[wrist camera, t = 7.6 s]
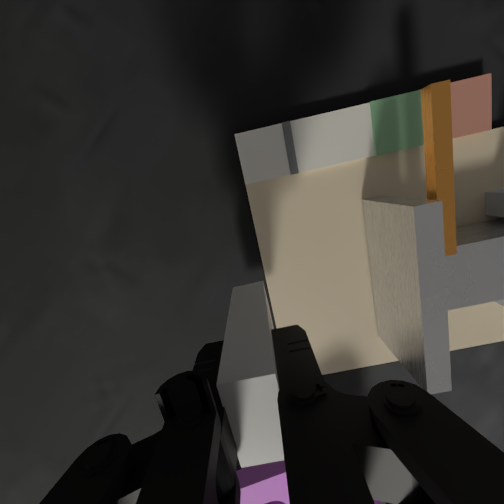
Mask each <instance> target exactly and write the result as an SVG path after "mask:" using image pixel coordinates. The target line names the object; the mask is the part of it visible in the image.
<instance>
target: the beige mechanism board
mask: <svg viewBox="0 0 504 504" xmlns="http://www.w3.org/2000/svg"><path fill="white" fill-rule="evenodd" d="M450 86H451V112H452V138H453V165H454V191H455V217H456V228H458V227H463V226H468V225H472V224H477V223H482V222H487V221H491V220H496V219H501V218H504V127H500V128H495V129H492V88H491V73H490V74H485V75H481V76H477V77H473V78H468V79H464V80H460V81H455V82H451V83H450ZM234 135H235V140H236V144H237V149H238V153H239V158H240V163H241V167H242V172H243V176H244V181H245V185H246V190H247V194H248V199H249V203H250V208H251V213H252V217H253V222H254V226H255V231H256V236H257V240H258V245H259V249H260V254H261V259H262V263H263V268H264V272H265V277H266V282H267V286H268V291H269V295H270V300H271V304H272V309H273V314H274V318H275V323H276V327H277V328H282V327H287V326H292V325H299V326H300V327H301V328H303V329H304V330H305V331H306V334H307V336H308V339H309V342H310V344H311V347H312V350H313V352H314V355H315V358H316V360H317V363H318V366H319V368H320V371H321V374H322V375H325V374H330V373H335V372H341V371H346V370H351V369H357V368H362V367H367V366H372V365H378V364H383V363H388V362H394V361H399V360H398V359H397V358H396V357H395V356H394V354H393V353H392V352H391V351H390V350H389V348H388V347H387V346H386V345H385V344H384V342H383V341H382V340H381V339H380V338H379V336H378V332H377V323H376V315H375V307H374V298H373V290H372V281H371V273H370V265H369V256H368V248H367V239H366V231H365V223H364V214H363V206H362V199H367V198H371V197H376V196H381V195H383V196H395V197H406V198H418V199H427V187H426V171H425V154H424V138H423V122H422V106H421V90H417V91H413V92H409V93H404V94H400V95H396V96H392V97H387V98H383V99H379V100H375V101H371V102H369V103H366V104H361V105H357V106H353V107H348V108H344V109H340V110H336V111H331V112H327V113H323V114H319V115H314V116H310V117H306V118H302V119H297V120H293V121H286V122H282V123H280V124H276V125H272V126H267V127H263V128H259V129H255V130H250V131H246V132H242V133H238V134H234ZM448 326H449V347H450V351H452V350H457V349H462V348H468V347H473V346H478V345H484V344H489V343H494V342H499V341H504V300H499V301H493V302H488V303H483V304H478V305H473V306H468V307H463V308H458V309H453V310H448Z"/></svg>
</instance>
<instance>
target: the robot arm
mask: <svg viewBox="0 0 504 504" xmlns="http://www.w3.org/2000/svg"><path fill="white" fill-rule="evenodd" d="M155 397H156V400H157V402H158V405H159V408H160V410H161V413H162V416H163V418H164V421H165V423H164V426H163V428H162V430H161V431H159V432H157V433H155V434H154V435H152V436H150V437H147V438H145V439H143V440H141V441H139V442H137V443H135V444H132V445H131V443H130V441H129V439H128V437H127V436H126V435H123V434H120V433H119V434H113V435H109V436H106V437H104V438H102V439H100V440H98V441H96V442H95V443H94V444H92V445H91V446H89V447H88V448H87V449H86V450H85V451H84V452H83V453H82V454H81V455H80V456H79V457H78V458H77V459H76V460H75V461H74V463H73V464H72V465H71V466H70V467H69V469H68V470H67V471H66V472H65V473H64V475H63V476H62V477H61V478H60V479H59V481H58V482H57V483H56V484H55V485H54V487H53V488H52V489H51V490H50V491H49V493H48V494H47V495H46V496H45V498H44V499H43V500H42V501H41V502H40V504H240V497H241V490H240V483H239V479H238V476H237V473H236V468H237V456H238V459H239V462H240V466H241V468H244V467H249V466H255V465H261V464H266V463H272V462H277V461H283V460H285V469H286V477H287V485H288V494H289V502H290V504H375V503H374V500H377V501H382V502H386V504H504V452H502V451H501V450H500V449H498V448H497V447H496V446H495V445H493V444H492V443H491V442H490V441H488V440H487V439H486V438H485V437H483V436H482V435H481V434H480V433H478V432H477V431H476V430H475V429H473V428H472V427H471V426H470V425H468V424H467V423H466V422H465V421H463V420H462V419H461V418H460V417H458V416H457V415H456V414H455V413H453V412H452V411H451V410H450V409H448V408H447V407H446V406H445V405H443V404H442V403H441V402H440V401H438V400H437V399H436V398H435V397H433V396H432V395H431V394H430V393H428V392H427V391H425V390H424V389H422V388H420V387H419V386H417V385H415V384H412V383H409V382H405V381H398V380H389V381H384V382H380V383H378V384H377V385H375V386H374V387H372V389H371V391H370V393H369V394H368V397H364V396H353V395H347V394H343V393H340V392H338V391H336V390H334V389H332V388H331V387H330V386H329V385H328V384H327V383H326V382H325V380H324V379H323V377H322V374H321V371H320V368H319V366H318V363H317V360H316V358H315V355H314V352H313V350H312V347H311V344H310V342H309V339H308V336H307V334H306V331H305V330H304V329H303V328H301V327H300V326H299V325H292V326H287V327H282V328H277V329H274V327H273V322H272V318H271V313H270V309H269V305H268V300H267V296H266V291H265V287H264V282H263V281H261V282H256V283H252V284H247V285H242V286H238V287H233V289H232V295H231V301H230V307H229V313H228V319H227V325H226V331H225V337H224V340H223V341H218V342H213V343H208V344H205V346H204V347H203V348H202V349H201V350H200V352H199V353H198V355H197V358H196V361H195V365H194V368H193V371H186V372H183V373H180V374H177V375H175V376H174V377H172V378H170V379H168V380H167V381H166V382H165V383H164V384H163V385H161V386H160V388H159V389H158V391H157V392H156V394H155Z"/></svg>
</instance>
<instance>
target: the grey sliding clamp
mask: <svg viewBox="0 0 504 504" xmlns="http://www.w3.org/2000/svg"><path fill="white" fill-rule="evenodd" d="M421 106H422V122H423V138H424V154H425V171H426V187H427V199H418V198H406V197H395V196H383V195H381V196H376V197H371V198H367V199H362V206H363V214H364V223H365V231H366V239H367V248H368V256H369V265H370V273H371V281H372V290H373V298H374V307H375V315H376V323H377V332H378V336H379V338H380V339H381V340H382V341H383V342H384V344H385V345H386V346H387V347H388V348H389V350H390V351H391V352H392V353H393V354H394V356H395V357H396V358H397V359H398V360H399V361H400V363H401V364H402V365H403V366H404V367H405V369H406V370H407V371H408V372H409V373H410V375H411V376H412V377H413V378H414V379H415V381H416V382H417V383H418V384H419V385H420V386H421V388H422V389H424V390H425V391H427V392H428V393H430V394H435V393H441V392H446V391H452V387H451V367H450V347H449V326H448V310H453V309H458V308H463V307H468V306H473V305H478V304H483V303H488V302H493V301H499V300H504V218H501V219H496V220H491V221H487V222H482V223H477V224H472V225H468V226H463V227H458V228H456V217H455V191H454V165H453V138H452V112H451V86H450V80H446V81H441V82H437V83H433V84H430V85H428V86H426V87H424V88H423V89H421Z"/></svg>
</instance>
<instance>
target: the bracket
mask: <svg viewBox="0 0 504 504" xmlns="http://www.w3.org/2000/svg"><path fill="white" fill-rule="evenodd" d="M236 473H237V476H238V479H239V483H240V490H241V497H240V504H266V503H268V502H271V501H274V502H271V503H269V504H290V502H289V494H288V485H287V477H286V469H285V460H283V461H277V462H272V463H266V464H261V465H255V466H249V467H245V468H243V469H240V470H237V471H236ZM374 503H375V504H381V503H380V501H377V500H374Z"/></svg>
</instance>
